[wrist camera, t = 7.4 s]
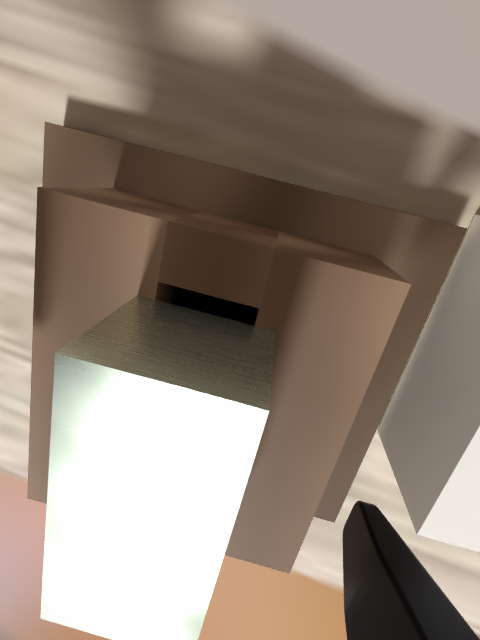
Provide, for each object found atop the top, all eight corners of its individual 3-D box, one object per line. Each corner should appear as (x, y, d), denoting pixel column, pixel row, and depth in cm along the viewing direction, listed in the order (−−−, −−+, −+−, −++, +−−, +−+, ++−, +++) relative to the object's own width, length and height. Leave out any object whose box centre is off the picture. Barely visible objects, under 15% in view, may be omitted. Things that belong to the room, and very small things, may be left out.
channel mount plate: (453, 225, 12) (555, 247, 8) (331, 504, 17) (348, 623, 12) (62, 126, 13) (-67, 90, 8) (46, 424, 17) (-42, 510, 13)
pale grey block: (278, 294, 12) (269, 410, 6) (232, 454, 15) (190, 662, 8) (176, 267, 12) (54, 353, 6) (148, 430, 15) (40, 618, 8)
